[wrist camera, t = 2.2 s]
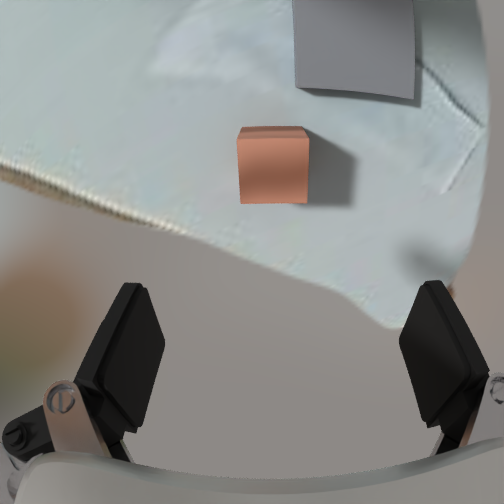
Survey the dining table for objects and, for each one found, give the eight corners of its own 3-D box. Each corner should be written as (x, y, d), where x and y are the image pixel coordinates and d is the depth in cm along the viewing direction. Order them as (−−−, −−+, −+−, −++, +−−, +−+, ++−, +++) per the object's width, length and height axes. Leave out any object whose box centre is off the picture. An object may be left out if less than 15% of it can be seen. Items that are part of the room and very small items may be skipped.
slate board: (289, -38, 15) (291, -44, 13) (403, -20, 14) (410, -24, 13) (295, 86, 21) (297, 87, 20) (406, 97, 21) (413, 99, 20)
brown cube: (242, 126, 24) (236, 139, 20) (301, 126, 23) (309, 138, 19) (245, 180, 26) (240, 203, 22) (300, 180, 26) (306, 203, 22)
